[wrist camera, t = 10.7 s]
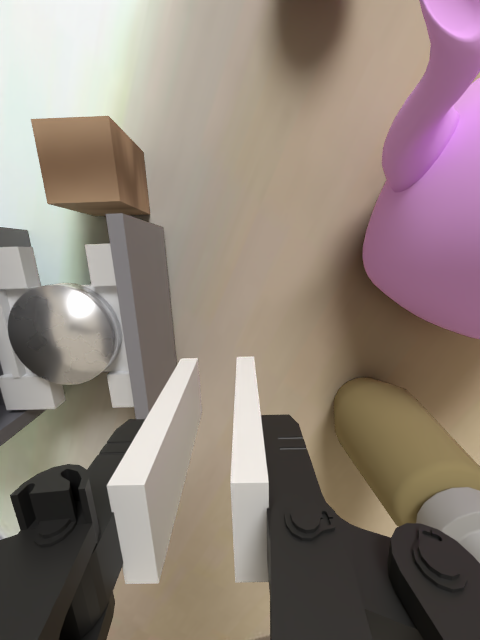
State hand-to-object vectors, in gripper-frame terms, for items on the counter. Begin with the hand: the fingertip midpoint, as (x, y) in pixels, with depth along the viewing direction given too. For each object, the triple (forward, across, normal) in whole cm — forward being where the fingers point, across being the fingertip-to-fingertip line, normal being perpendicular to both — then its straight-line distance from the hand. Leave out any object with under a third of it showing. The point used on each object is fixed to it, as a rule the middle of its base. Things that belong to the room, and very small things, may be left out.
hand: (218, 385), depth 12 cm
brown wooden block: (+14, -10, +12) cm, 21 cm away
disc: (+10, -13, 0) cm, 16 cm away
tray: (+14, -13, 0) cm, 19 cm away
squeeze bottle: (+15, +14, -10) cm, 22 cm away
